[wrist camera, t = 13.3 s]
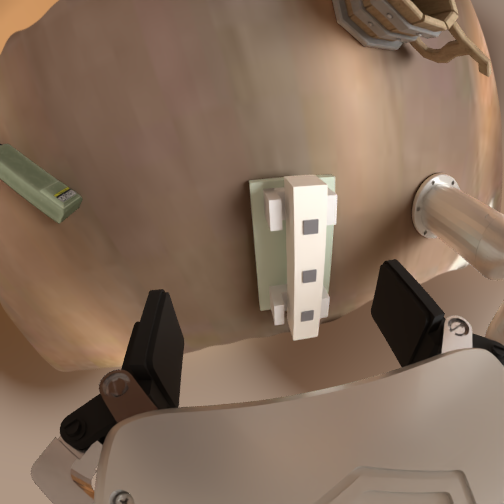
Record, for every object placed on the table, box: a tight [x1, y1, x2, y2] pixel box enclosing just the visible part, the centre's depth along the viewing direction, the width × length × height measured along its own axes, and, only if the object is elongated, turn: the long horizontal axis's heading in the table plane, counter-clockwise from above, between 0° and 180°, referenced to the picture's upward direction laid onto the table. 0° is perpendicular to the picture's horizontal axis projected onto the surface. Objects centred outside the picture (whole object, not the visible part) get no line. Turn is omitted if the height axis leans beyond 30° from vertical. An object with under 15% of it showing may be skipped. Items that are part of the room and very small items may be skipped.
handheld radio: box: [0, 144, 82, 224], centre depth 28 cm, size 7×3×25 cm
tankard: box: [332, 0, 491, 77], centre depth 20 cm, size 20×13×15 cm, turn 54°
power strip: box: [284, 175, 328, 340], centre depth 38 cm, size 4×24×5 cm, turn 5°
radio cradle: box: [249, 174, 337, 325], centre depth 40 cm, size 12×22×6 cm, turn 5°
